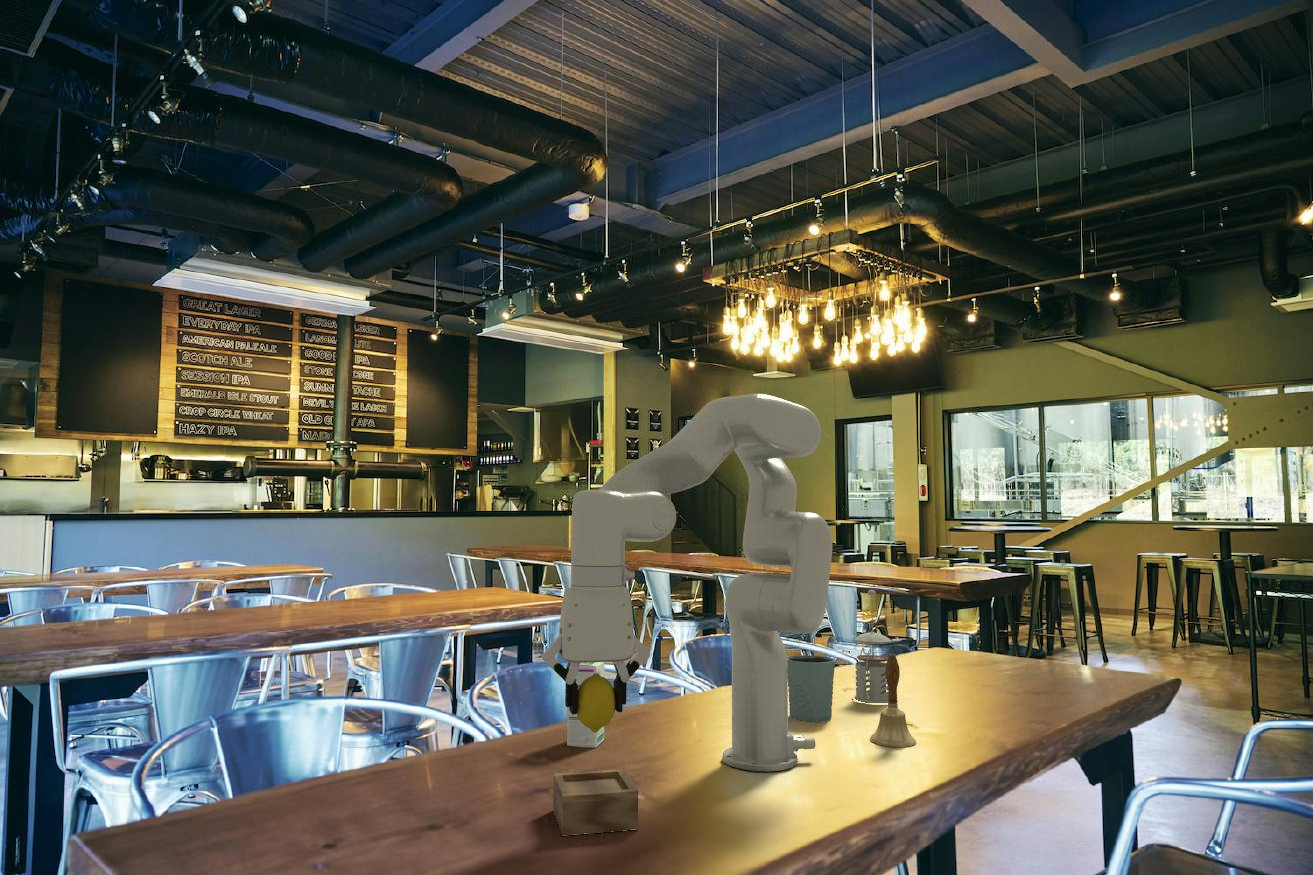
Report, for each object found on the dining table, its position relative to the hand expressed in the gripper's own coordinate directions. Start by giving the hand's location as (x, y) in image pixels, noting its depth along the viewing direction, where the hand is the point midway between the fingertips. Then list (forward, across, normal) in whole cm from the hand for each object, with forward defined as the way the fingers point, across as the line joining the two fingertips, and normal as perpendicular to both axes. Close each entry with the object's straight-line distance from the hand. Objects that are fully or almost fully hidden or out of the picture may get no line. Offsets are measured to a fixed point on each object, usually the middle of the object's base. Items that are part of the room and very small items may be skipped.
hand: (595, 709), depth 115 cm
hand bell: (+15, -61, -28) cm, 69 cm away
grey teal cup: (+15, -54, -49) cm, 74 cm away
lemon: (+3, 0, 0) cm, 3 cm away
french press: (+14, -74, -60) cm, 96 cm away
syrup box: (+15, -5, -39) cm, 42 cm away
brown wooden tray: (+15, 0, 0) cm, 15 cm away
